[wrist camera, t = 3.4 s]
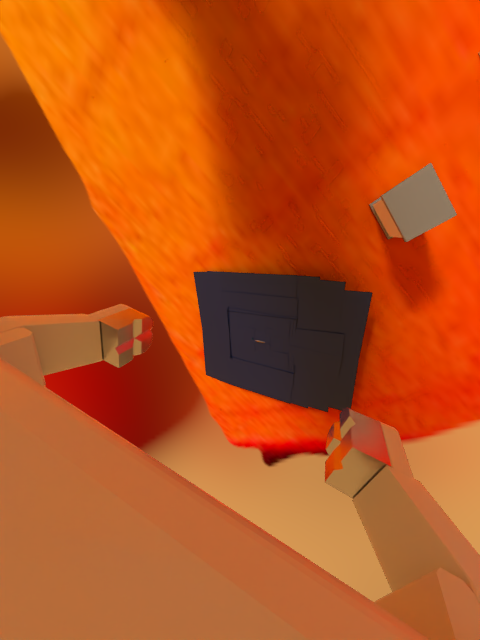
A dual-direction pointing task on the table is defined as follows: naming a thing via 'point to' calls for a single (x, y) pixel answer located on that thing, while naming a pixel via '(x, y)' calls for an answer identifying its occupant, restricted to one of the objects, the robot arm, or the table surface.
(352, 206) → the table surface
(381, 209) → the plate
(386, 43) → the table surface
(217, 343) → the dark grey panelled slab
